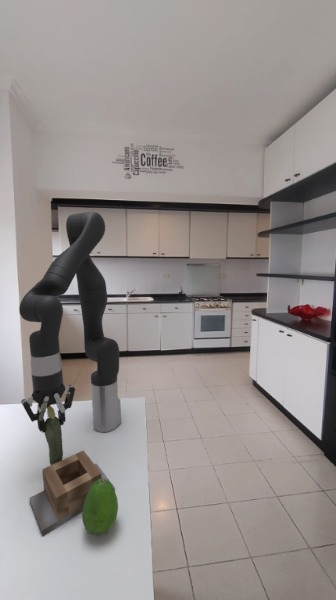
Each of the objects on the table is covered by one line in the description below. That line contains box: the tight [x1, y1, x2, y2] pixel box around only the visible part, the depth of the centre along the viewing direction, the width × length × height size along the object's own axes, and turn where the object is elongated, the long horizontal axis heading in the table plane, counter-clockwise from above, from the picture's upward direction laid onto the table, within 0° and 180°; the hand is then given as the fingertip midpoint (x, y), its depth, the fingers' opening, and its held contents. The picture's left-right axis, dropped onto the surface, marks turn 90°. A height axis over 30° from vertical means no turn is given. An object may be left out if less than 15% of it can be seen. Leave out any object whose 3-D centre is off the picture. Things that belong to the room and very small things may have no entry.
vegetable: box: [43, 405, 64, 466], centre depth 77 cm, size 4×4×20 cm
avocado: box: [81, 479, 119, 536], centre depth 61 cm, size 8×8×12 cm
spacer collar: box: [28, 450, 116, 537], centre depth 70 cm, size 18×11×8 cm, turn 129°
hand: (52, 427), depth 76 cm, fingers closed on vegetable, 4 cm apart
